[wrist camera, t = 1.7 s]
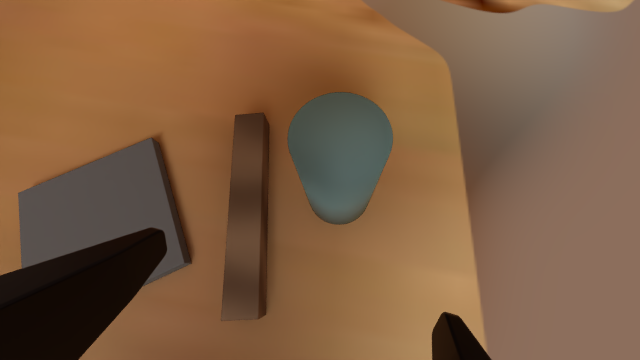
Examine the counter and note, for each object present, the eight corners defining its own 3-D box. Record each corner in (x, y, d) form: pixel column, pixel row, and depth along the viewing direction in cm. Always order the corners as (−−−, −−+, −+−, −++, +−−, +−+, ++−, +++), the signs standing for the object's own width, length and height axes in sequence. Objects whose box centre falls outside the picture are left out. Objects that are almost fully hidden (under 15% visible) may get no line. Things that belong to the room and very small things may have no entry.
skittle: (379, 208, 21) (413, 157, 12) (324, 234, 21) (313, 203, 11) (351, 158, 23) (361, 78, 14) (299, 181, 22) (272, 116, 13)
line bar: (265, 314, 19) (258, 319, 17) (232, 316, 19) (221, 321, 17) (269, 125, 25) (263, 112, 23) (242, 127, 25) (235, 115, 23)
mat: (191, 263, 21) (184, 263, 20) (39, 334, 20) (25, 337, 19) (158, 142, 25) (151, 137, 24) (31, 196, 24) (18, 193, 23)
